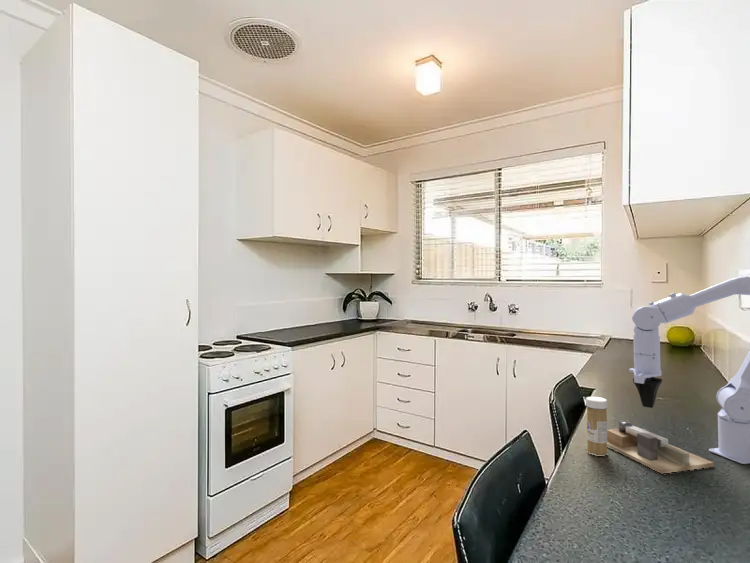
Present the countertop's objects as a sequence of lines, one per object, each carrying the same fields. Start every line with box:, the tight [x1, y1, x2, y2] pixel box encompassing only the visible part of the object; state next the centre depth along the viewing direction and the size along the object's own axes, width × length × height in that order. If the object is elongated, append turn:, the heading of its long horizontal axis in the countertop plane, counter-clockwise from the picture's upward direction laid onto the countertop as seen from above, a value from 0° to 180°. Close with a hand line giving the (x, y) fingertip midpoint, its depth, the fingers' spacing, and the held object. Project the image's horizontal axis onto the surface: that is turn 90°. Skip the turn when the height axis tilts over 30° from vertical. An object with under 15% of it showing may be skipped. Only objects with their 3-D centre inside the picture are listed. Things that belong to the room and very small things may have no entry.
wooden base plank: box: [607, 427, 715, 474], centre depth 102 cm, size 14×18×6 cm
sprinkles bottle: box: [585, 396, 609, 455], centre depth 103 cm, size 5×5×14 cm
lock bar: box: [618, 420, 669, 447], centre depth 103 cm, size 12×3×2 cm, turn 14°
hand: (648, 406), depth 109 cm, fingers closed
